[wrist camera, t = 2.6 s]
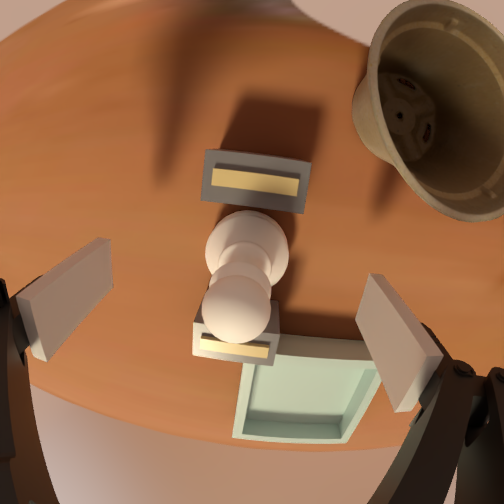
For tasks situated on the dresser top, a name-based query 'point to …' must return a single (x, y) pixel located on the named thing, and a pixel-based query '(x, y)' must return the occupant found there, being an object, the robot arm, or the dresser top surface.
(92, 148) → the dresser top surface
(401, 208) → the dresser top surface
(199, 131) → the dresser top surface
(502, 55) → the flower pot
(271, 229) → the chess pawn
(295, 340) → the tray
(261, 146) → the dresser top surface
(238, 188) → the fuse holder
